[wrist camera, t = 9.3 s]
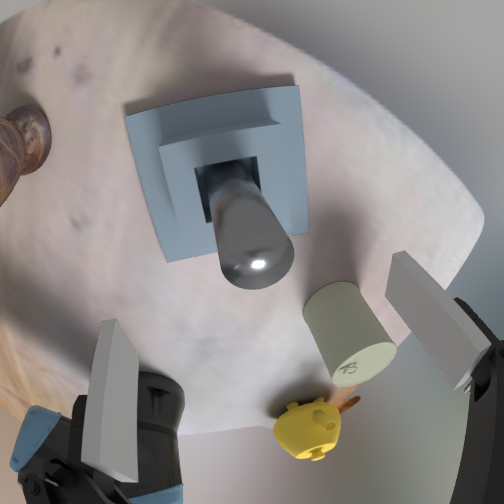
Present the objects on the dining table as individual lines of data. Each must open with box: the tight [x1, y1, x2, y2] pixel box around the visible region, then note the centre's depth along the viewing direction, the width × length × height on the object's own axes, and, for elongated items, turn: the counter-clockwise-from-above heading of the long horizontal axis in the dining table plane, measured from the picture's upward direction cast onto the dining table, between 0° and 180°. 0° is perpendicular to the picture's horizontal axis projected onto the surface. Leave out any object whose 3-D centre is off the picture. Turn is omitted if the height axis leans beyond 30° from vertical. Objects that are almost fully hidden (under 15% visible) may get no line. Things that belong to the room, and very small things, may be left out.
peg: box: [205, 159, 294, 290], centre depth 21 cm, size 4×4×14 cm
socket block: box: [124, 85, 309, 263], centre depth 26 cm, size 16×16×4 cm
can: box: [303, 281, 397, 387], centre depth 36 cm, size 9×9×12 cm
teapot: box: [273, 397, 341, 461], centre depth 53 cm, size 20×16×14 cm
